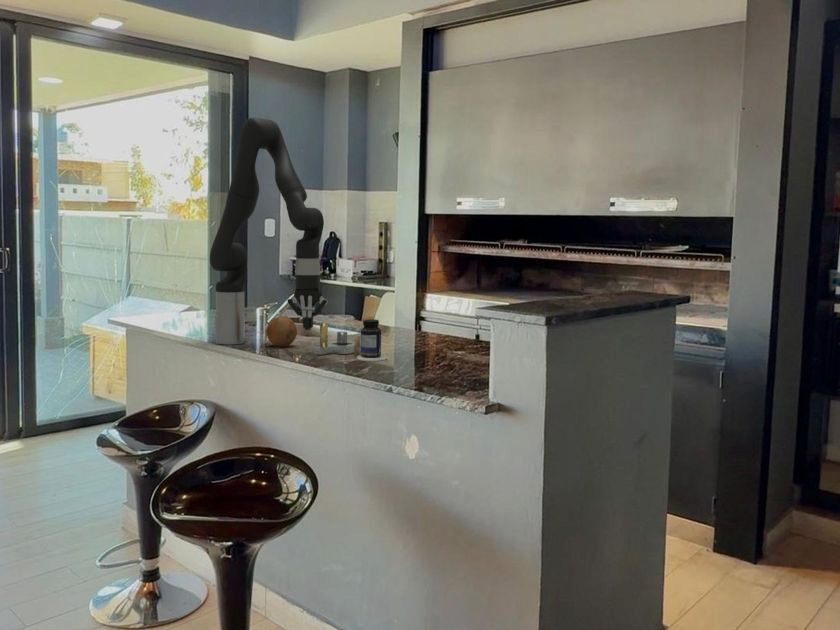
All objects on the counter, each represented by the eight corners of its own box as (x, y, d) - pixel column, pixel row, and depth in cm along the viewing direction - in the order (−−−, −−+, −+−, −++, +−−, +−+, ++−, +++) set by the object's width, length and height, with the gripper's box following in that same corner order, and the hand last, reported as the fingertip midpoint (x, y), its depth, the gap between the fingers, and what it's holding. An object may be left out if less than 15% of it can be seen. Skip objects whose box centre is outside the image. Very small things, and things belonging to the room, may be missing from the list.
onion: (285, 343, 258) (285, 313, 257) (303, 347, 251) (303, 316, 250) (260, 346, 251) (260, 315, 250) (278, 349, 244) (278, 318, 243)
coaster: (358, 361, 226) (358, 359, 226) (355, 356, 235) (355, 354, 235) (388, 361, 227) (388, 359, 227) (385, 356, 236) (385, 354, 236)
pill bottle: (370, 354, 235) (370, 318, 234) (385, 356, 231) (385, 320, 230) (356, 356, 231) (356, 320, 229) (371, 359, 227) (371, 322, 225)
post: (337, 351, 243) (337, 332, 242) (336, 350, 246) (336, 331, 245) (347, 351, 243) (347, 332, 242) (346, 350, 246) (346, 331, 246)
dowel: (354, 356, 235) (354, 336, 234) (353, 355, 236) (354, 336, 236) (360, 356, 235) (360, 336, 234) (359, 355, 237) (359, 336, 236)
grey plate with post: (340, 345, 253) (340, 317, 252) (368, 349, 246) (369, 320, 245) (302, 352, 239) (302, 322, 238) (331, 356, 232) (331, 326, 231)
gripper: (282, 273, 232) (283, 330, 234) (325, 274, 230) (325, 331, 232) (290, 272, 240) (291, 327, 241) (331, 273, 238) (332, 328, 239)
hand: (308, 329), depth 237 cm, fingers closed
